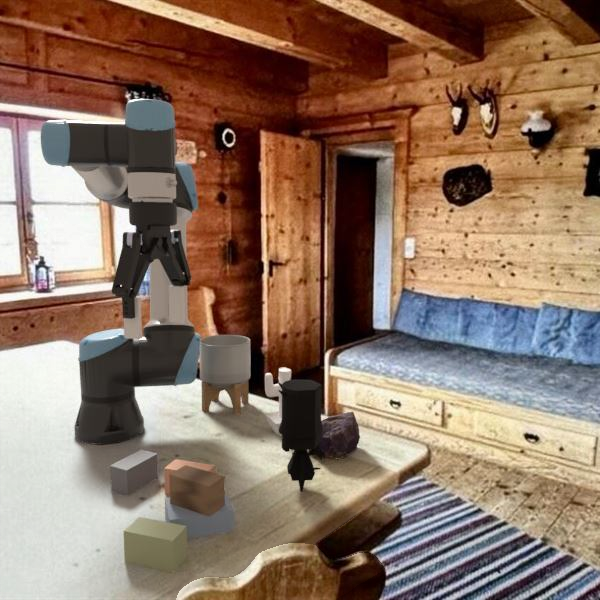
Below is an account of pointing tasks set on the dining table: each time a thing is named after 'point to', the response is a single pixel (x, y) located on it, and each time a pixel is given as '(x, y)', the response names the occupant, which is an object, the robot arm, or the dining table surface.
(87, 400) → the robot arm
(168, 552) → the olive block
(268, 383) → the figurine
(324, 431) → the rock
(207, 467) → the terracotta block
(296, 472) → the toy
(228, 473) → the dining table surface
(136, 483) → the charcoal block
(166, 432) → the dining table surface
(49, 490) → the dining table surface
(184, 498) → the walnut block
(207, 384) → the planter
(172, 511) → the slate slab
